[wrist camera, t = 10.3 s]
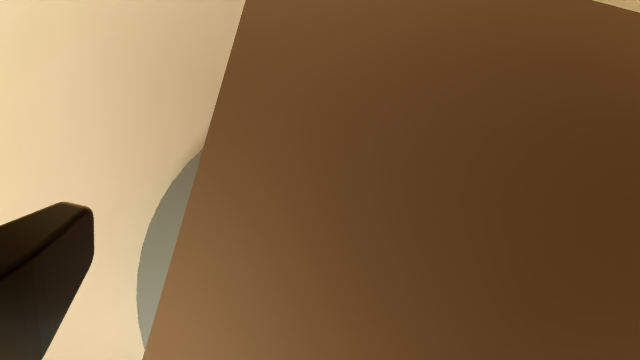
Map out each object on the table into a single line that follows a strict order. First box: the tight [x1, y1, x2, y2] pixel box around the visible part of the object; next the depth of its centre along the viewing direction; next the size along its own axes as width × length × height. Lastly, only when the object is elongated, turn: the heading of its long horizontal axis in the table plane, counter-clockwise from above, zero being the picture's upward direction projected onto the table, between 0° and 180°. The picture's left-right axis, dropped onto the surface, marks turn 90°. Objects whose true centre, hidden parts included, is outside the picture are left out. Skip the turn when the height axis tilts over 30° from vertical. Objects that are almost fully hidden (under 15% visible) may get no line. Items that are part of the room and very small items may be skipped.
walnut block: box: [142, 0, 640, 360], centre depth 10 cm, size 5×5×12 cm
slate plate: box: [137, 150, 203, 349], centre depth 17 cm, size 12×12×1 cm
